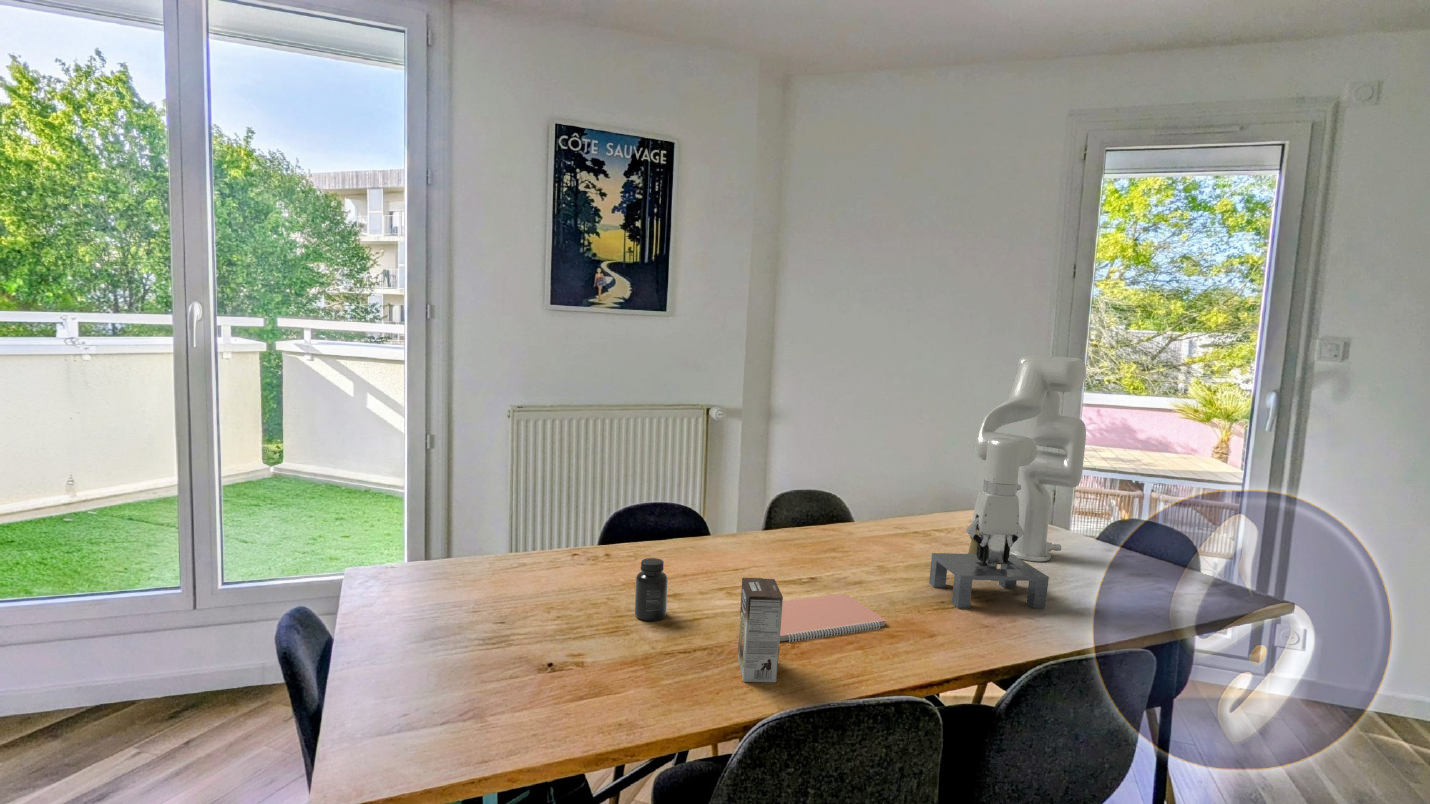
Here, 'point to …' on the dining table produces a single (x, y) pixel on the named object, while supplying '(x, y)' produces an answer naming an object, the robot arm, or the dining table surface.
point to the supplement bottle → (651, 590)
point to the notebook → (825, 617)
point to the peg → (995, 550)
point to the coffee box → (759, 629)
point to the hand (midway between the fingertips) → (992, 560)
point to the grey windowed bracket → (986, 577)
